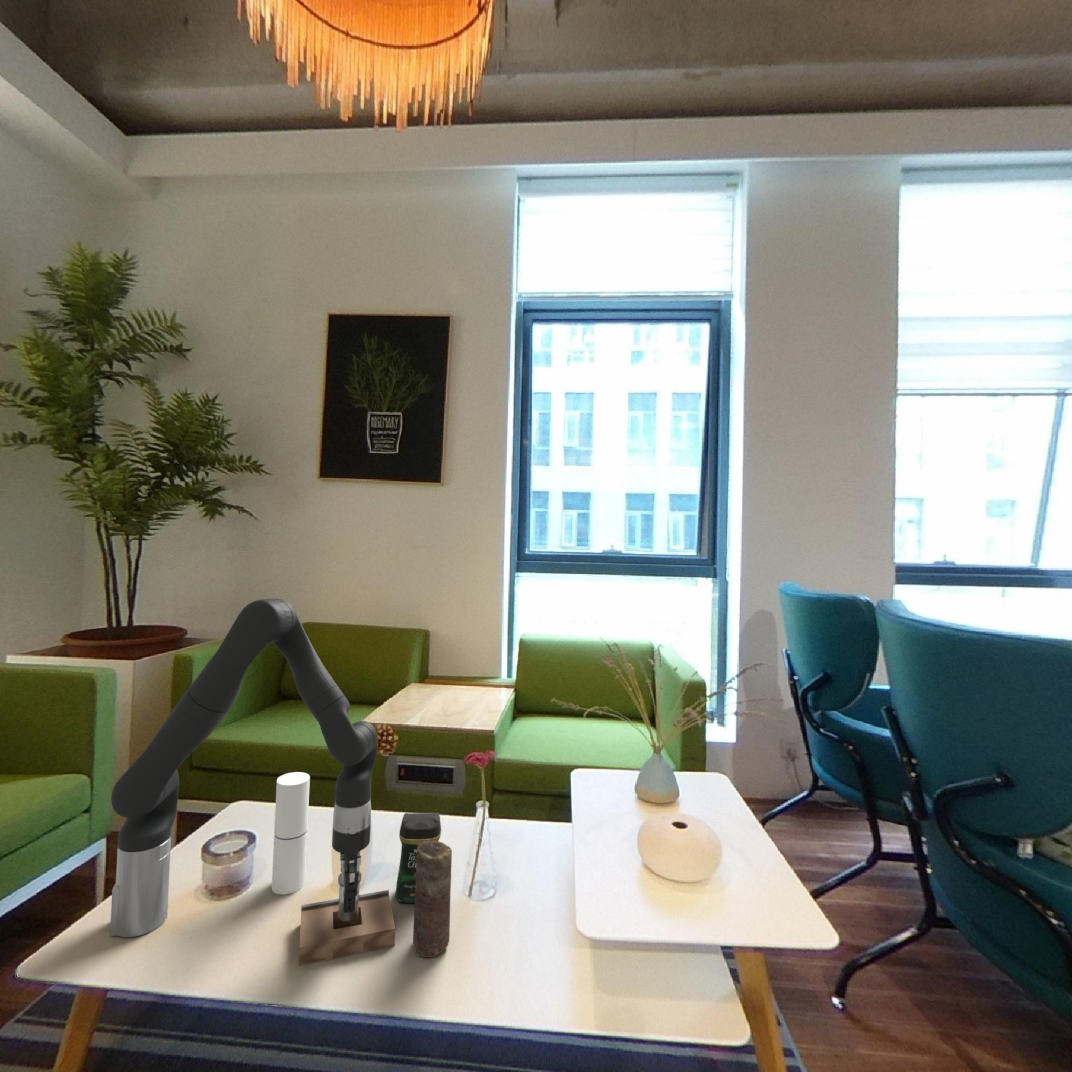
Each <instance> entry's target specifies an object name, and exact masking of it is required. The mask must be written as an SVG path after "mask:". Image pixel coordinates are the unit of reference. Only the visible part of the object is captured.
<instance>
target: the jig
mask: <svg viewBox="0 0 1072 1072" xmlns="http://www.w3.org/2000/svg"><path fill="white" fill-rule="evenodd" d="M338 906H339V898H335V899H329V900H322V901H318V902H312V903H307V904H302V905H300V907H301V908H300V924H299V925H300V926H299V927H300V928H299V948H298V949H299V950H298V951H299V952H298V953H299V955H298V966H299V967H300V966H304V965H308V964H314V963H318V962H322V961H328V960H332V959H337V958H341V957H347V956H352V955H356V954H361V953H365V952H371V951H375V950H380V949H385V948H390V947H394V946H395V942H396V926H395V920H394V919H395V918H394V914H393V910H392V909H393V908H392V904H391V899H390V890H389V889H387V890H381V891H376V892H375V891H374V892H369V893H364V894H359V909H358V916H357V917H356V918H355V919H353V920H350V921H342V920H340V919H339V918H338ZM347 926H348V927H347Z"/></svg>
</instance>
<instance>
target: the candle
mask: <svg viewBox="0 0 1072 1072" xmlns="http://www.w3.org/2000/svg"><path fill="white" fill-rule="evenodd" d="M452 854H453V850H452V848H451V847H450V846H449V845H447V844H446V843H444V842H442V841H434V842H427V843H422V844H420V845H419V846H418V848H417V859H416V888H415V903H414V909H413V910H414V912H413V926H412V927H413V931H412V933H413V934H412V945H413V948H414V952H415V953H416V954H417V956H418V957H421V958H433V957H436V956H437V955H438V954H440V953H442V952H443V951H445V950H446V948H447V947H448V946H449V943H450V936H451V934H450V929H451V888H452V884H451V883H452V859H453V858H452V857H453V855H452Z"/></svg>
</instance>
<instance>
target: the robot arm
mask: <svg viewBox="0 0 1072 1072" xmlns="http://www.w3.org/2000/svg"><path fill="white" fill-rule="evenodd" d="M299 617H300V616H298V614H297V611H296V610H295V608H294V607H293V606H292V604H291V603H289V602H288V601H287V600H285V599H282V598H274V597H273V598H263V599H262V598H261V599H257V600H256V599H255V600H254V601H251V602H249V603H248V604H247V605H245V607H243V608H242V610H241V611H240V612H239V614H238V616H237V617H236V619H235V621H234V622H233V623H232V626H231V627H230V629H229V630H228V632H227V634H226V636H225V638H224V639H223V641H222V642H221V644H220V645H219V647H218V649H217V650H216V652H215V653H214V654H213V656H211V658H210V659H209V660H208V662H207V663H206V664H205V666H204V667H203V669H202V670H201V671H200V673H198V675H197V676H196V678H195V679H194V680H193V682H192V683H191V684H190V686H188V688H187V690H186V691H185V692H184V694H183V695H182V696H181V698H180V699H179V700H178V702H177V704H176V705H175V706H174V708H173V709H172V711H171V712H170V714H169V715H168V716H167V717H166V719H165V721H164V722H163V724H162V725H161V726H160V728H159V730H158V732H156V734H155V736H154V737H153V739H152V740H151V742H150V743H149V745H148V746H147V747H146V749H144V750H143V752H142V753H141V754H140V755H139V756H138V758H137V759H136V760H135V761H134V762H133V763H132V765H130V767H129V768H127V770H126V771H125V772H124V773H123V774H122V775H121V776H120V777H119V779H118V780H117V781H116V783H115V784H114V786H113V788H112V792H111V795H110V801H111V803H110V804H111V806H112V809H113V810H114V812H115V813H116V814H117V815H118V816H119V817H123V818H126V820H125V822H124V823H123V825H122V827H121V828H120V830H119V831H118V835H117V852H116V853H117V855H116V875H115V884H114V885H113V887H112V890H111V908H110V909H111V910H110V925H109V926H110V929H109V930H110V932H109V937H114V936H118V937H120V938H134V937H139V936H143V935H146V934H149V933H151V932H152V931H154V930H156V929H157V928H159V927H160V926H161V925H162V924H164V922H165V921H166V919H167V918H168V912H169V911H168V910H169V891H170V889H169V888H170V887H169V886H170V869H171V867H170V866H171V845H172V844H171V843H172V841H171V840H172V829H173V826H174V823H175V820H176V817H177V812H178V800H179V789H180V788H179V787H180V776H179V771H178V768H180V766H181V765H182V764H183V762H185V760H186V759H188V757H189V756H190V755H191V754H192V753H193V752H194V751H196V749H197V748H199V747H200V745H202V743H203V742H205V740H207V738H208V737H209V736H210V735H211V734H212V733H213V732H214V731H215V729H216V728H217V727H218V726H219V725H220V724H221V722H222V721H223V720H224V719H225V717H226V716H227V715H228V713H229V712H230V710H231V709H232V708H233V707H234V704H235V702H236V701H237V699H238V698H239V697H238V696H239V695H240V691H241V688H242V685H243V681H244V678H245V675H246V673H247V671H248V669H249V668H250V666H251V665H252V664H253V662H254V661H255V660H256V658H257V657H258V656H259V655H260V654H261V652H263V650H264V649H265V648H267V646H268V645H269V644H273V645H274V647H276V648H277V649H278V650H279V652H280V653H281V654H282V656H283V657H284V658H285V659H286V661H287V663H288V665H289V668H290V670H291V673H292V676H293V679H294V683H295V686H296V688H297V691H298V694H299V695H300V698H301V700H302V702H304V704H305V706H306V707H307V709H308V711H310V713H311V714H312V716H313V717H314V719H315V720H316V721H317V722H318V725H319V728H320V730H321V731H320V732H321V734H322V736H323V739H324V741H325V744H326V747H327V749H328V751H329V753H330V754H331V756H332V758H333V759H334V760H335V761H337V762H338V763H339V764H340V765H343V766H342V769H341V770H340V772H339V774H338V775H337V778H336V781H335V799H334V807H333V815H332V833H331V835H332V838H331V847H332V849H333V850H334V851H335V852H337V853H339V861H340V873H342V877H341V880H342V883H343V884H344V891H343V894H344V895H343V896H344V905H343V912H344V913H349V912H353V911H354V910H355V896H357V894H358V891H357V890H358V880H359V871H360V870H361V869H360V866H361V864H362V855H361V851H363V850H364V849H366V848H367V847H368V846H369V844H370V842H371V827H372V825H371V823H372V803H371V799H372V798H371V796H372V776H373V771H374V767H375V763H376V758H377V754H378V746H379V737H378V732H377V729H376V728H375V726H374V725H373V724H372V723H371V722H369V721H367V720H365V721H364V720H361V721H357V722H354V723H352V722H351V719H350V718H349V715H348V714H349V711H350V709H351V705H350V702H349V700H348V698H347V697H346V696H345V694H344V693H343V691H342V690H341V689H340V687H339V686H338V684H337V683H336V682H335V680H334V679H333V677H332V675H331V674H330V672H328V671H329V670H327V669H326V667H325V666H324V663H323V662H322V660H321V659H320V656H319V655H318V654H317V652H316V649H315V647H314V646H313V645H312V642H311V641H310V638H309V637H308V635H307V633H306V631H305V628H304V627H303V623H302V622H301V620H300V618H299ZM344 875H345V876H344Z"/></svg>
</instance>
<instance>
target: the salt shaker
mask: <svg viewBox="0 0 1072 1072" xmlns="http://www.w3.org/2000/svg"><path fill="white" fill-rule="evenodd" d="M344 876H345V875H344ZM341 877H342V872H340V874H339V875H338V878H337V883H338V885H339V887H338V888H339V889H338V899H339V906H338V918H339V919H340V920H342V921H350V920H353V919H355V918H356V917H357V916H358V909H359V895H360V887H361V886H360V885H361V884H360V882H361V881H362V872H361V871H360V870H359V880H358V890H357V891H358V894H357V896H355V910H354V911H353V912H349V913H344V912H343V905H344V896H343V895H344V894H343V891H344V884H343V883H342V880H341Z"/></svg>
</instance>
